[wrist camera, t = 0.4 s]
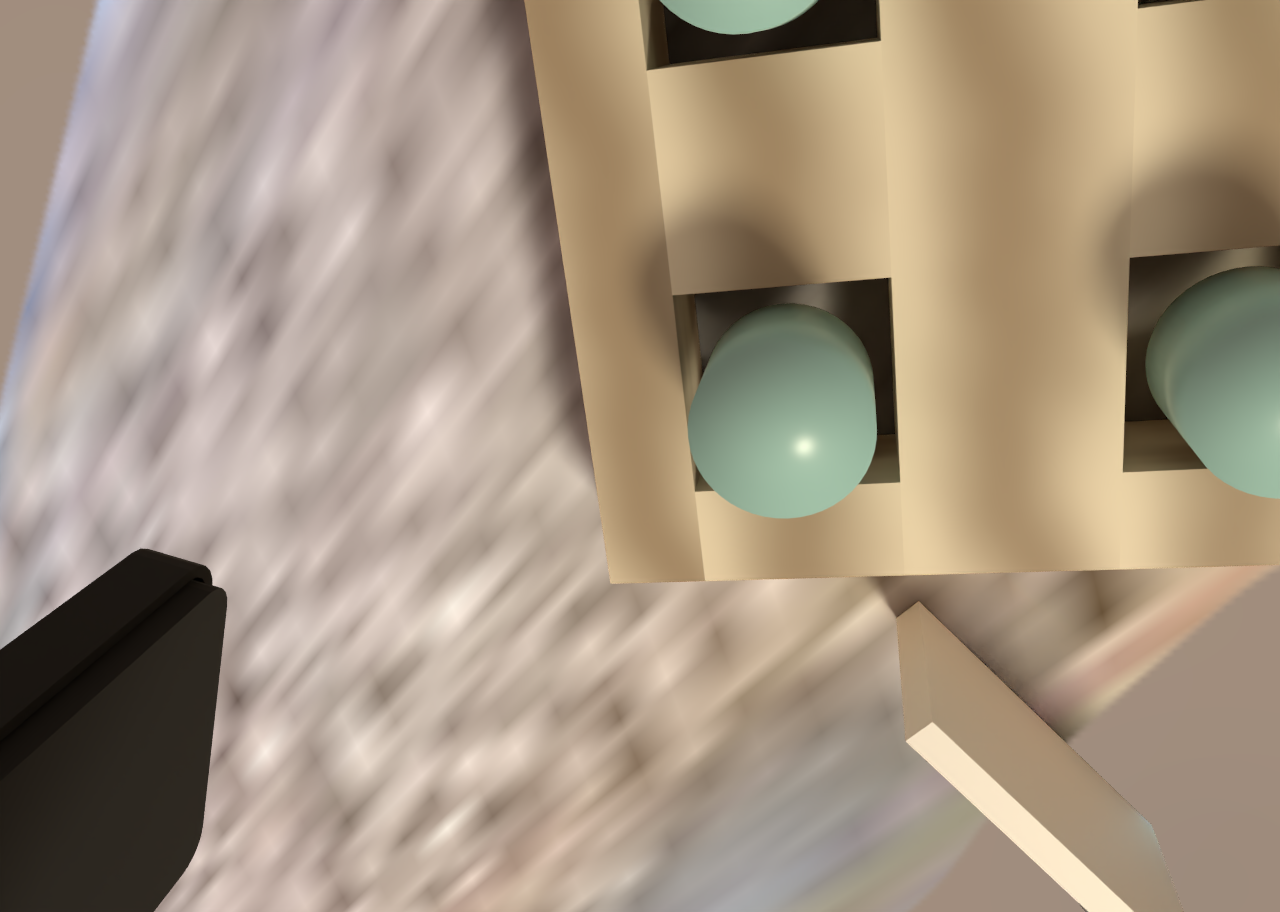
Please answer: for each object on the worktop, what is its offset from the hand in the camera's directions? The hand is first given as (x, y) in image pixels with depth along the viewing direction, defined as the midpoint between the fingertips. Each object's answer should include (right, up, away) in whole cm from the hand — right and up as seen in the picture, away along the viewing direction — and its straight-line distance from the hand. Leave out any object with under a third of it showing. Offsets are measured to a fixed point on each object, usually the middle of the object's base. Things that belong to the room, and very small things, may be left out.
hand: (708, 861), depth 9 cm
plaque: (+13, -6, +29) cm, 32 cm away
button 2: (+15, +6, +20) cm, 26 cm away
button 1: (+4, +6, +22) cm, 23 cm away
